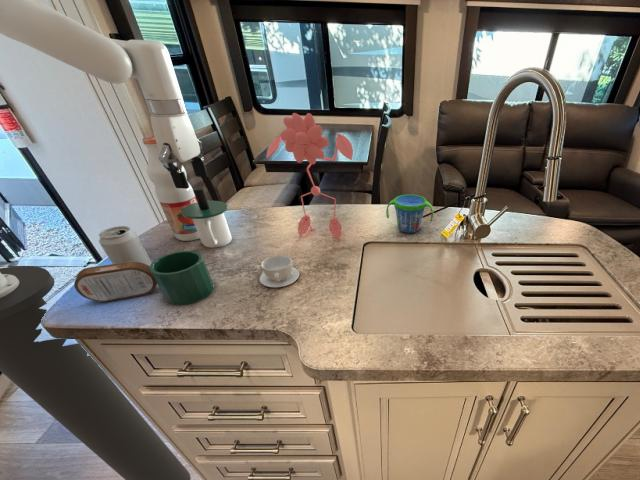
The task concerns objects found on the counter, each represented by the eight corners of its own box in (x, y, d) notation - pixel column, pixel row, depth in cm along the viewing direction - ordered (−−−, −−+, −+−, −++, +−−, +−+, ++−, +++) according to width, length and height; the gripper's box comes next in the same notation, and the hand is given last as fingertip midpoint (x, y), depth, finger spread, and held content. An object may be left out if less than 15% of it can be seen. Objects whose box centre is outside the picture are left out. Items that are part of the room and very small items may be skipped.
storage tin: (201, 305, 74) (187, 275, 69) (156, 304, 74) (138, 273, 69) (221, 280, 82) (210, 251, 77) (180, 279, 82) (167, 249, 77)
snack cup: (382, 232, 106) (382, 202, 100) (391, 219, 114) (391, 191, 108) (428, 239, 104) (431, 208, 97) (434, 225, 112) (437, 197, 105)
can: (156, 275, 83) (133, 233, 76) (121, 284, 80) (93, 241, 72) (153, 262, 88) (132, 221, 80) (120, 270, 84) (95, 228, 77)
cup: (232, 233, 103) (222, 203, 96) (232, 251, 94) (221, 218, 88) (203, 237, 100) (191, 206, 94) (201, 256, 91) (187, 223, 85)
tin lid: (217, 221, 86) (208, 197, 82) (174, 220, 86) (163, 195, 82) (235, 205, 95) (228, 182, 91) (196, 203, 95) (187, 181, 91)
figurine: (289, 226, 108) (265, 106, 86) (363, 234, 105) (357, 112, 83) (266, 247, 96) (232, 114, 75) (349, 257, 93) (338, 121, 71)
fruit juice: (189, 226, 106) (151, 133, 88) (215, 230, 104) (181, 135, 87) (168, 239, 98) (121, 140, 81) (195, 243, 97) (154, 143, 80)
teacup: (261, 269, 87) (257, 254, 84) (299, 265, 89) (296, 250, 86) (258, 291, 79) (253, 275, 76) (299, 286, 81) (296, 270, 78)
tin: (164, 286, 80) (149, 256, 74) (162, 293, 77) (146, 263, 72) (90, 299, 75) (68, 269, 69) (85, 307, 72) (62, 276, 67)
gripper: (172, 102, 82) (195, 172, 92) (125, 112, 68) (158, 192, 78) (202, 104, 82) (221, 173, 92) (161, 113, 68) (189, 193, 78)
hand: (192, 182), depth 85 cm, fingers open, 9 cm apart
